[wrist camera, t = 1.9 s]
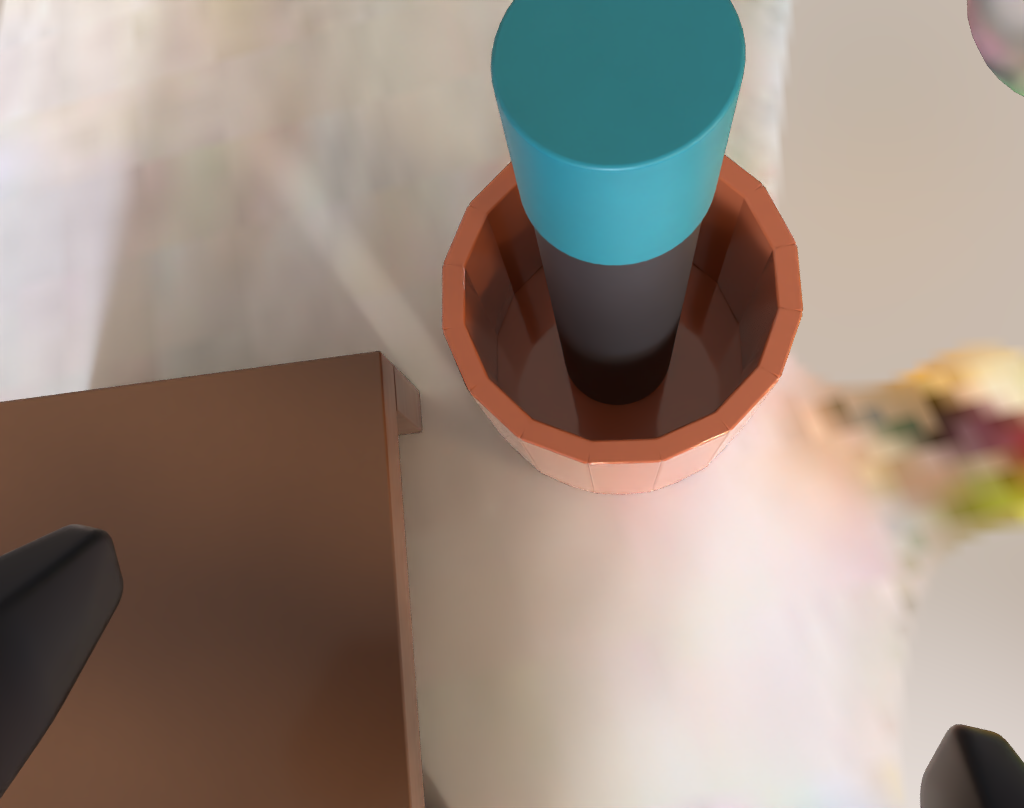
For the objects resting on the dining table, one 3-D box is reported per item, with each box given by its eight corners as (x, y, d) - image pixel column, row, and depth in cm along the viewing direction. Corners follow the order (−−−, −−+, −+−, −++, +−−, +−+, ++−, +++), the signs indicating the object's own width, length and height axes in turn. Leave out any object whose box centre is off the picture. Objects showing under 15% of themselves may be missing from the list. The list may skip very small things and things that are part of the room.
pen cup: (625, 554, 22) (628, 541, 17) (427, 366, 24) (371, 300, 18) (817, 348, 22) (879, 272, 17) (609, 180, 24) (606, 63, 19)
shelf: (456, 865, 21) (420, 927, 17) (71, 894, 22) (-48, 959, 18) (419, 390, 24) (380, 349, 20) (79, 433, 24) (-23, 404, 21)
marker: (620, 432, 22) (624, 219, 10) (537, 357, 23) (439, 68, 10) (698, 349, 22) (801, 37, 10) (614, 278, 23) (609, -99, 11)
